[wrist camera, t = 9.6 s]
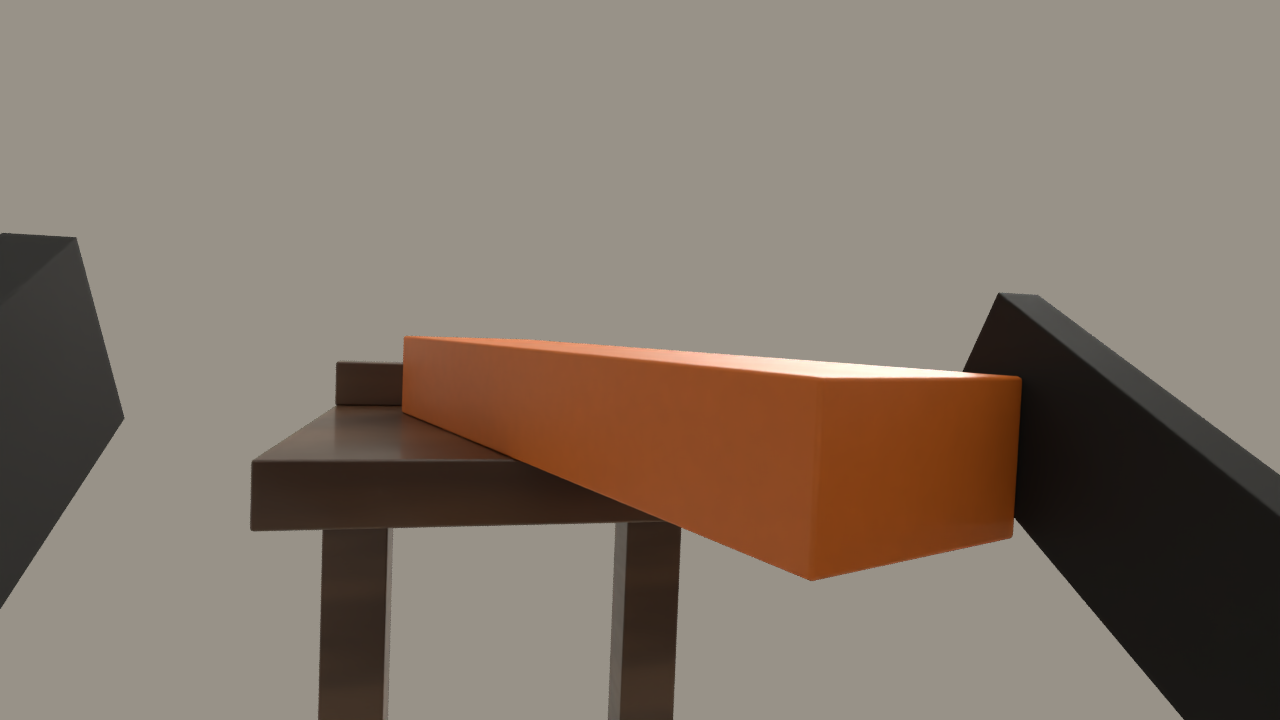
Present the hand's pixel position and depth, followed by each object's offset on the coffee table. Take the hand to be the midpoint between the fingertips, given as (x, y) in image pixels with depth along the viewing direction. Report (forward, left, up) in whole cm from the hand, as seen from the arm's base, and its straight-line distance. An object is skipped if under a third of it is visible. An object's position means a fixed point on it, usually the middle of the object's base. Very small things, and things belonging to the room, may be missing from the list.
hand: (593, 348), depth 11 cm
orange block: (+4, +5, -3) cm, 7 cm away
